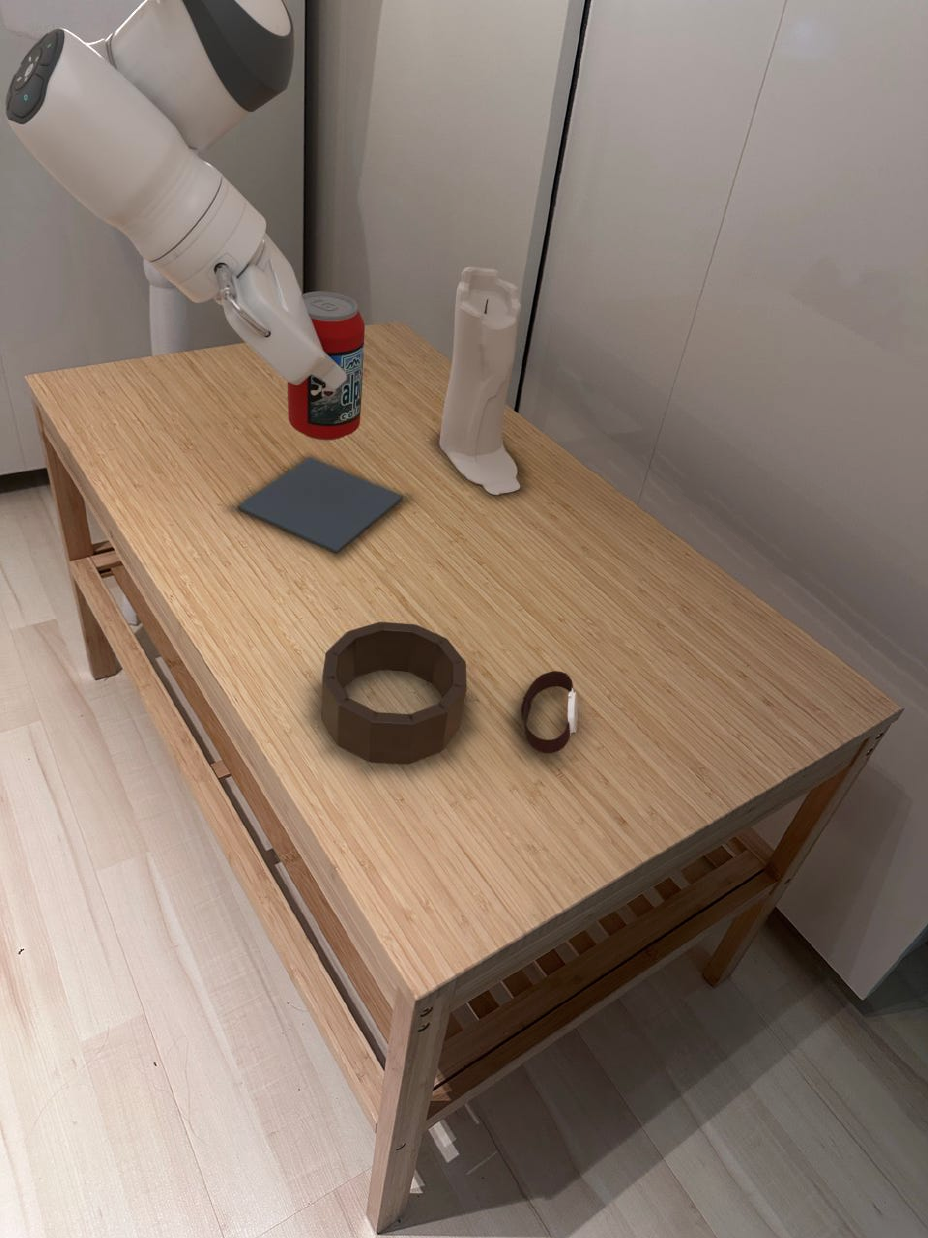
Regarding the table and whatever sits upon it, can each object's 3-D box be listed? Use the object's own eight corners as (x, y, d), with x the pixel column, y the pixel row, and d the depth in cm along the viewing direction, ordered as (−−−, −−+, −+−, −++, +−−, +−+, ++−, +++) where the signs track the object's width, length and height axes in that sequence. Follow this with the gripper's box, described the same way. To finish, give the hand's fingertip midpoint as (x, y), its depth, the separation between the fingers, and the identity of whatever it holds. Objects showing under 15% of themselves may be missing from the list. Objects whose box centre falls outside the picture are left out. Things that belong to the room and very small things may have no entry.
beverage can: (330, 453, 79) (333, 326, 71) (273, 427, 81) (269, 301, 73) (374, 427, 83) (381, 305, 76) (319, 403, 86) (320, 281, 78)
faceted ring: (294, 722, 66) (294, 681, 63) (371, 644, 74) (374, 604, 71) (414, 786, 63) (420, 746, 60) (482, 697, 71) (490, 658, 68)
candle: (478, 498, 93) (507, 316, 80) (429, 434, 102) (448, 261, 89) (537, 489, 95) (574, 312, 82) (484, 428, 105) (510, 259, 92)
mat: (237, 509, 86) (237, 505, 86) (309, 460, 94) (309, 456, 94) (337, 554, 83) (337, 550, 82) (402, 499, 91) (403, 495, 91)
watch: (572, 765, 66) (582, 734, 64) (512, 752, 67) (520, 721, 64) (579, 695, 72) (588, 664, 70) (524, 683, 72) (531, 652, 70)
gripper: (254, 266, 61) (382, 390, 70) (228, 177, 75) (337, 290, 84) (193, 327, 62) (326, 441, 72) (179, 229, 76) (291, 334, 86)
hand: (332, 359), depth 78 cm, fingers closed on beverage can, 7 cm apart
